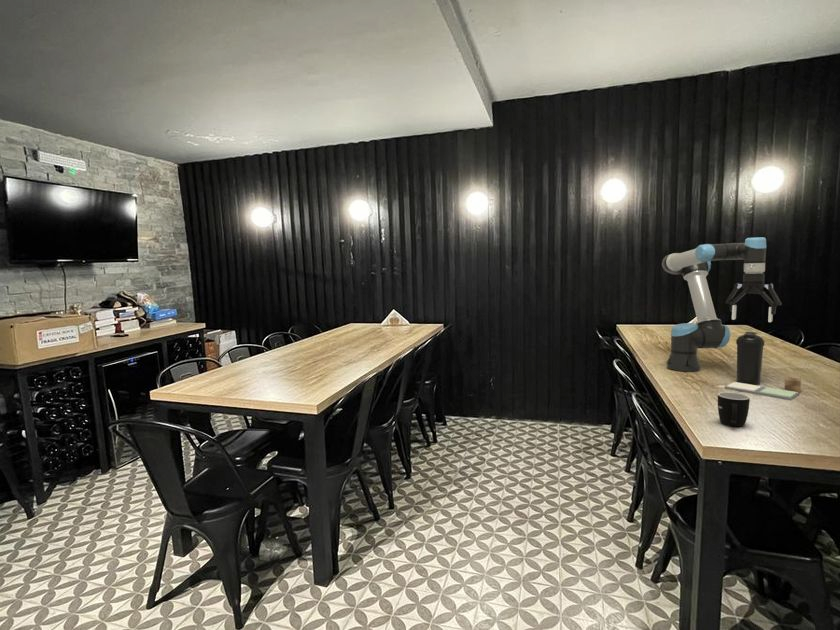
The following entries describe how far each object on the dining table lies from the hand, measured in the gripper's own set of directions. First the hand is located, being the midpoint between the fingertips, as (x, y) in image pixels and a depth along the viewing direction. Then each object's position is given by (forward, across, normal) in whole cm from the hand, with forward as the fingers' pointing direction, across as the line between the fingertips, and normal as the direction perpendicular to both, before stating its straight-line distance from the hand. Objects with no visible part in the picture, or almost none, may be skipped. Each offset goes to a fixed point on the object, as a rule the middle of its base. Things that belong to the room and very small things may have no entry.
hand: (751, 320), depth 197 cm
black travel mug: (+29, 0, 0) cm, 29 cm away
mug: (+28, +15, -63) cm, 71 cm away
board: (+28, +8, -12) cm, 32 cm away
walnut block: (+29, +16, -1) cm, 33 cm away
